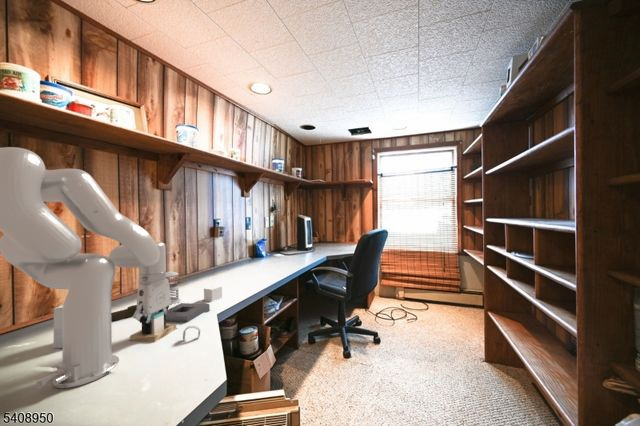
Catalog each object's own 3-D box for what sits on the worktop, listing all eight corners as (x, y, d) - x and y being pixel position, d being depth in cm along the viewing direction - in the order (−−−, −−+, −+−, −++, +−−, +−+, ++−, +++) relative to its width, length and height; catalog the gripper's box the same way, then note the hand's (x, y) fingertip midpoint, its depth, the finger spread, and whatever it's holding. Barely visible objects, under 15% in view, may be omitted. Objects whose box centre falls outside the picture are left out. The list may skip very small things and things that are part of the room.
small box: (73, 347, 78) (72, 307, 79) (52, 348, 78) (52, 308, 78) (95, 335, 86) (95, 299, 87) (77, 336, 86) (76, 299, 86)
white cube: (212, 302, 119) (211, 289, 119) (204, 300, 122) (203, 288, 122) (222, 298, 124) (221, 286, 125) (214, 296, 127) (213, 285, 127)
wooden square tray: (154, 344, 78) (154, 337, 78) (128, 343, 80) (128, 336, 80) (177, 330, 88) (177, 324, 88) (153, 329, 90) (153, 323, 90)
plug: (154, 337, 82) (154, 316, 82) (144, 336, 82) (143, 316, 83) (163, 331, 86) (163, 311, 86) (154, 331, 86) (153, 311, 87)
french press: (183, 302, 120) (182, 251, 121) (156, 308, 112) (155, 254, 112) (177, 298, 127) (177, 250, 128) (151, 304, 119) (150, 253, 119)
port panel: (187, 324, 93) (187, 316, 93) (155, 323, 95) (155, 315, 95) (209, 310, 107) (209, 303, 107) (181, 309, 109) (181, 303, 109)
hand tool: (85, 329, 92) (85, 317, 92) (85, 326, 95) (85, 314, 95) (146, 315, 105) (146, 304, 105) (144, 312, 108) (144, 302, 108)
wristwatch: (183, 341, 80) (183, 326, 80) (200, 338, 82) (200, 323, 82) (182, 345, 77) (182, 329, 77) (199, 342, 79) (199, 326, 79)
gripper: (140, 284, 76) (141, 342, 75) (180, 272, 92) (181, 319, 92) (120, 284, 77) (121, 341, 76) (163, 272, 94) (164, 319, 93)
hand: (154, 329), depth 84 cm, fingers open, 5 cm apart
